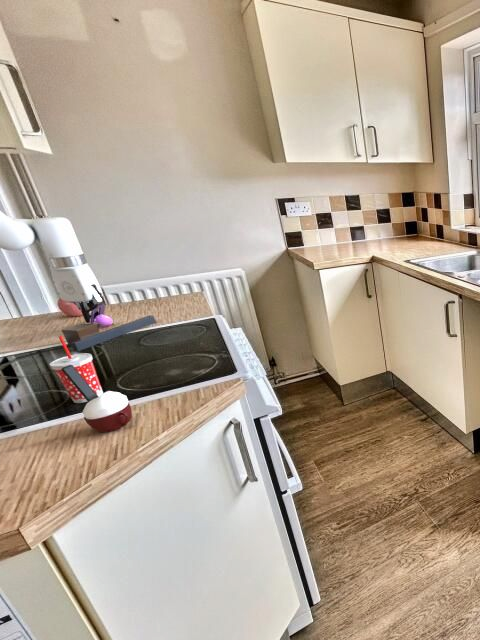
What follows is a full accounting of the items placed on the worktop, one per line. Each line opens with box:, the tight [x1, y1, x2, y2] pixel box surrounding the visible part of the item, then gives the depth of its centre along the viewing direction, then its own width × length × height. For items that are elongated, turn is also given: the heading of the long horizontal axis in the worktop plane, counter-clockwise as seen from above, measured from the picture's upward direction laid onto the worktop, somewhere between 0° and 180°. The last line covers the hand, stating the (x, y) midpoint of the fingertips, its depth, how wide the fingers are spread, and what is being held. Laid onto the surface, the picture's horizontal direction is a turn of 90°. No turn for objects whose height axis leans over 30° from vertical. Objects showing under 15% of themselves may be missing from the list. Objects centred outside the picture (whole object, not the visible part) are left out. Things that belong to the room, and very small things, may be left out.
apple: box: [57, 297, 83, 318], centre depth 137 cm, size 7×7×8 cm
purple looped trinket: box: [89, 302, 117, 328], centre depth 127 cm, size 7×5×9 cm
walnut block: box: [61, 323, 100, 347], centre depth 115 cm, size 5×5×5 cm
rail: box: [70, 315, 157, 352], centre depth 120 cm, size 2×22×2 cm, turn 171°
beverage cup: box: [48, 335, 104, 404], centre depth 85 cm, size 6×6×14 cm
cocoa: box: [61, 365, 133, 433], centre depth 76 cm, size 10×6×12 cm, turn 53°
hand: (94, 321), depth 129 cm, fingers closed
